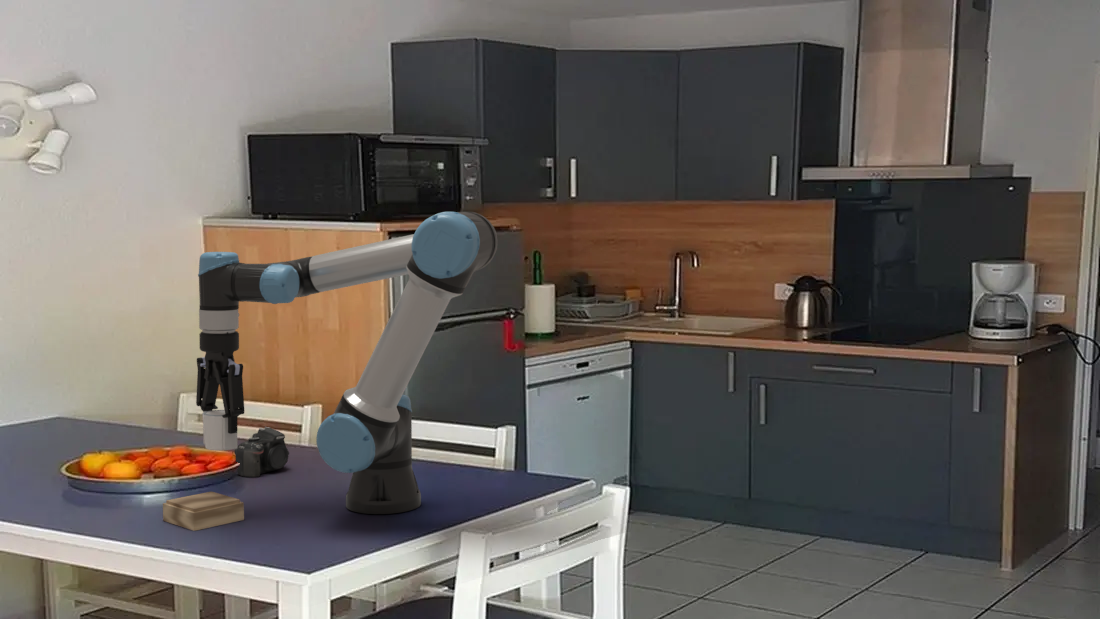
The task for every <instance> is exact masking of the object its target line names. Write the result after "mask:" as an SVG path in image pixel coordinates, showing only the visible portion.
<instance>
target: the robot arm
mask: <svg viewBox="0 0 1100 619" xmlns="http://www.w3.org/2000/svg"><path fill="white" fill-rule="evenodd" d="M497 235H498V234H497V231H496V229H495V226H493V224H492V222H491V221H490V220H489V219H488V218H487V217H485V216H483V215H482V214H481V213H477V212H474V211H457V212H456V211H442V212H438V213H436V214H433V215H432V216H429V217H428V218H426V219H424V221H422V222H421V223H420V224H419V225H418V227H417V228H416V230H415V232H414V234H408V235H404V236H400V237H395V238H389V239H385V240H382V241H380V240H379V241H376V242H371V243H368V244H367V243H366V244H363V245H358V246H354V247H349V248H345V249H339V250H335V251H330V252H325V253H322V254H321V253H320V254H316V255H312V256H307V257H302V258H299V259H298V258H296V259H293V260H288V261H287V260H286V261H278V262H269V263H244V262H240V260H239V254H238V253H236V252H234V251H232V252H231V251H207V252H203V253H201V255H199V263H198V274H197V277H198V286H199V287H198V289H199V290H198V292H199V293H198V294H199V309H198V317H199V318H198V320H199V321H198V322H199V323H198V324H199V325H198V328H199V330H202V331H200V333H199V350H200V351H201V352H204V353H205V355H204V356H202V357H197V358H196V365H197V375H196V376H197V377H196V378H197V379H196V396H195V397H196V398H195V399H196V400H195V404H196V406H197V407H200V410H201V411H202V413H203V412H206V411H212V410H219V407H218V406H217V405H216V403H217V397H218V393H219V387H220V393H221V397H222V404H223V408H224V409H223V410H225V415H222V417H223V450H222V451H231V450H235V449H237V446H238V431H239V429H238V417H239V416H240V415H244V414H245V401H244V399H245V398H244V382H243V381H244V380H243V373H244V372H243V371H244V365H243V363H236V362H235V357H234V352H236V351H238V350H239V349H240V333H239V331H236V330H238V328H239V325H240V324H239V320H240V319H239V317H240V313H239V308H240V307H239V306H240V305H239V304H240V302H244V303H245V302H248V303H249V302H252V303H263V304H265V303H267V304H273V305H277V304H278V305H279V304H289V303H292V302H294V300H295V298H304V297H307V296H311V295H315V294H319V293H323V292H328V291H334V290H338V289H343V288H349V287H353V286H357V285H363V284H368V283H372V282H377V281H382V280H383V281H384V280H387V279H392V278H398V277H402V276H406V275H408V276H409V278H408V280H407V283H406V285H405V287H404V289H403V291H402V292H401V295H400V297H399V299H398V301H397V303H396V305H395V307H394V309H393V311H392V313H391V315H390V317H389V319H388V321H387V323H386V325H385V327H384V328H383V331H382V334H381V335H380V338H379V339H378V341H377V343H376V345H375V347H374V349H373V352H372V354H371V356H370V357H369V359H368V361H367V363H366V365H365V368H364V370H363V371H362V373H361V375H360V378H359V379H358V382H357V383H356V386H354V387H351V388H348V389H346V390H345V391H344V392H343V394H342V396H341V398H340V401H339V402H338V404H337V405H336V408H335V410H334V411H333V414H331V415H328V416H327V417H326V418H325V419H324V420H323V421H322V422H321V424H320V425H319V426H318V429H317V431H316V432H317V433H316V438H315V439H316V440H315V441H316V447H317V449H318V453H319V455H320V457H321V459H322V460H323V461H324V462H325V464H326V465H327V466H329V467H330V468H331V469H333V470H334V471H338V472H340V473H343V474H352V475H351V478H350V482H349V487H348V490H347V493H346V495H345V507H346V509H347V510H349V511H352V512H354V513H358V514H367V515H389V514H390V515H391V514H397V513H398V514H399V513H404V512H405V513H406V512H409V511H412V510H415V509H417V508H419V507H420V506H421V505H422V495H421V494H422V493H421V490H420V489H419V486H418V485H419V484H418V481H417V479H416V476H415V472H414V469H413V464H412V463H413V461H412V458H413V455H412V454H413V451H412V450H413V448H412V447H413V446H412V444H413V439H412V437H413V434H412V432H413V431H412V424H413V423H412V421H413V420H412V414H413V410H412V404H411V403H412V402H411V401H412V400H411V399H410V397H409V395H406V394H404V392H405V390H406V389H407V387H408V385H409V382H410V381H411V379H412V377H413V374H414V373H415V371H416V369H417V366H418V365H419V362H420V360H421V359H422V357H423V355H424V352H425V351H426V348H427V347H428V345H429V343H430V341H431V338H432V337H433V335H434V334H435V331H436V328H437V327H438V325H439V322H440V321H441V319H442V317H443V315H444V313H445V311H446V309H447V307H448V305H449V303H450V302H451V299H454V298H456V297H459V296H462V295H463V293H464V291H465V289H466V287H467V285H468V284H469V282H470V280H471V278H472V276H473V274H474V272H477V271H479V270H481V269H483V268H485V267H487V266H488V264H490V263H491V261H492V260H493V258H494V256H495V254H496V252H497V249H498V236H497ZM202 427H203V426H202ZM202 430H203V431H202V434H203V440H202V443H203V445H205V437H204V427H203V428H202Z"/></svg>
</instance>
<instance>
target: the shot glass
mask: <svg viewBox="0 0 1100 619" xmlns="http://www.w3.org/2000/svg"><path fill="white" fill-rule="evenodd" d="M222 415H225V410H224V409H213V410H212V411H206V412H203V411H202V416H201V417H202V424H203V426H202V427H204V437H205V444H204V446H205V449H206V450H210V451H224V450H223V417H222Z"/></svg>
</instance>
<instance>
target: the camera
mask: <svg viewBox="0 0 1100 619" xmlns="http://www.w3.org/2000/svg"><path fill="white" fill-rule="evenodd" d="M285 438H286V435H285V433H283V432H282V431H279V430H277V429H274V428H272V427H269V426H268V427H267V426H264V428H263V427H259V428H258V430H257V432H255V433H253V434H252V435H251V437H249V438H248V440H247V441H244V442H241V443H239V444H237V449H234V455H235V463H236V462H238V463H240V466H239V467H238V469H236V473H237V475H238V476H240V477H243V478H253V479H254V478H260V476H261V475H262V474H265V473H266V474H267V473H269V472H273V471H278V470H281V469H283V468H284V467H285V466H286V464H287V462H288V461H289V455H290V452H289V450H288V447H287V446H286V443H285Z"/></svg>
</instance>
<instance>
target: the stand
mask: <svg viewBox="0 0 1100 619" xmlns="http://www.w3.org/2000/svg"><path fill="white" fill-rule="evenodd" d="M244 507H245V504H244V502H243V501H241V499H239V498H236V497H232V496H229V495H226V494H222V493H218V492H216V491H215V492H214V491H206V492H202V493H196V494H192V495H187V496H182V497H175V498H172V499H166V502H163V503H162V521H163V522H166V523H169V524H172V525H176V526H178V527H182V528H184V529H186V530H187V529H188V530H190V531H193V532H194V531H199V530H200V531H201V530H204V529H208V528H213V527H217V526H223V525H227V524H231V523H235V522H239V521H244V520H245V508H244Z"/></svg>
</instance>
